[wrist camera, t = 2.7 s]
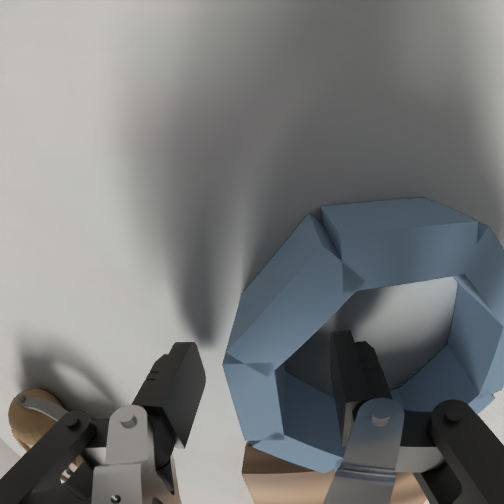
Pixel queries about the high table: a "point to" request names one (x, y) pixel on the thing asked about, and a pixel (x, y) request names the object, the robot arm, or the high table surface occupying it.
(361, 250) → the rubber loop
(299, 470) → the wooden peg stand
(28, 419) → the alarm clock
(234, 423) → the high table surface
